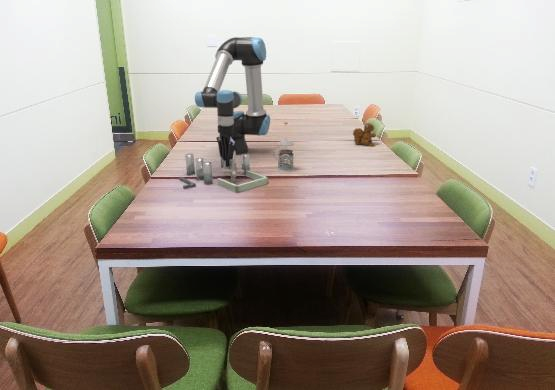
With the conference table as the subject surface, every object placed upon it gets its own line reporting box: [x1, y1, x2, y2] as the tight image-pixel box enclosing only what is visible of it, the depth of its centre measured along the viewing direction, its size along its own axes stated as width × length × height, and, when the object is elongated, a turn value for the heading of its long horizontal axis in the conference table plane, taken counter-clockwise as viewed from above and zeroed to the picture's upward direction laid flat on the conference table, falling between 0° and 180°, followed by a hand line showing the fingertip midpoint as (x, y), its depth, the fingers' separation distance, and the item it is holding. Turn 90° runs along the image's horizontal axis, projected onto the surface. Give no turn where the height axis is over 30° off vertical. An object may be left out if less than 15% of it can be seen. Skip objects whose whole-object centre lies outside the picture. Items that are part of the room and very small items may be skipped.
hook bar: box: [178, 176, 197, 190], centre depth 213 cm, size 14×6×1 cm, turn 39°
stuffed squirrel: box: [352, 122, 377, 147], centre depth 278 cm, size 10×14×13 cm
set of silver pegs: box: [184, 150, 251, 185], centre depth 226 cm, size 26×23×10 cm
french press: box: [272, 121, 296, 173], centre depth 229 cm, size 10×12×25 cm
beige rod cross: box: [222, 160, 244, 183], centre depth 214 cm, size 10×10×10 cm
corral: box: [216, 170, 269, 194], centre depth 212 cm, size 19×15×3 cm
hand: (226, 172), depth 219 cm, fingers closed
